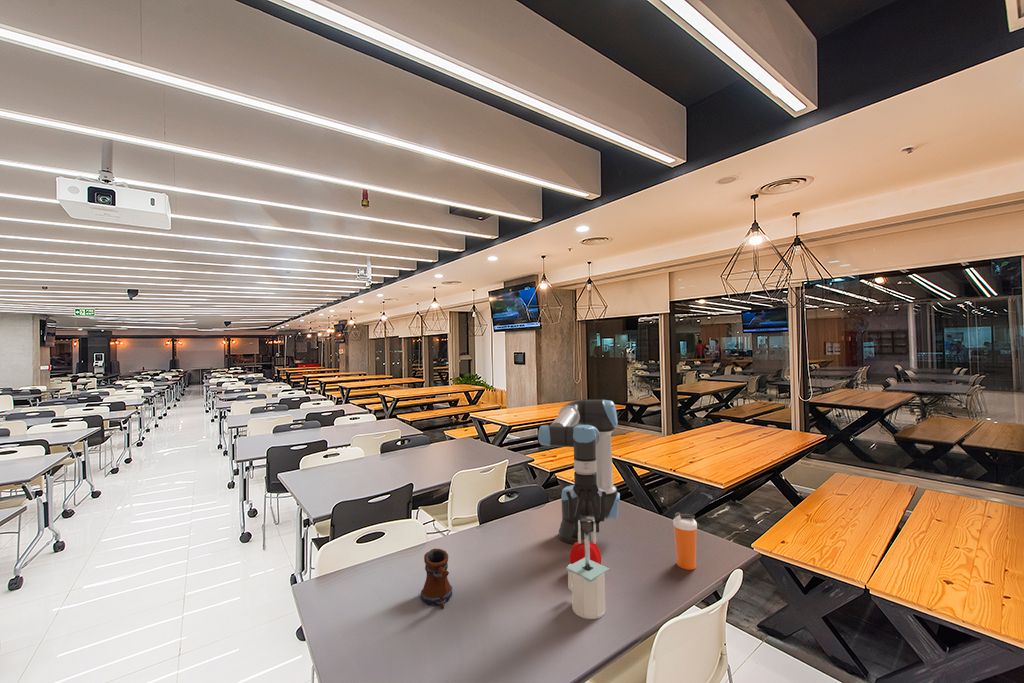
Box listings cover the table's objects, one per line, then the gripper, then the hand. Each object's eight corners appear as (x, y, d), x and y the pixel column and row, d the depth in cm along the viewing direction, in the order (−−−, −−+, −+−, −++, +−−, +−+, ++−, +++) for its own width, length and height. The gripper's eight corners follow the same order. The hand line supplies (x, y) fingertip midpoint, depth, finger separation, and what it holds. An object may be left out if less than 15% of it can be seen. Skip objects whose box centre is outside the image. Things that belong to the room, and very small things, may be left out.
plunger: (571, 576, 136) (570, 520, 137) (586, 568, 141) (584, 514, 142) (589, 585, 130) (588, 527, 131) (604, 576, 135) (602, 521, 136)
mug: (462, 611, 135) (462, 565, 136) (428, 621, 130) (428, 573, 131) (447, 584, 151) (447, 543, 152) (417, 592, 146) (416, 550, 147)
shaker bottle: (701, 572, 156) (699, 519, 157) (676, 570, 158) (675, 518, 159) (695, 560, 165) (693, 511, 166) (672, 558, 167) (670, 510, 168)
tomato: (605, 582, 151) (604, 546, 151) (573, 584, 150) (572, 547, 150) (597, 566, 162) (596, 532, 163) (567, 567, 161) (566, 534, 162)
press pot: (559, 604, 138) (558, 564, 138) (580, 591, 145) (579, 553, 145) (591, 624, 127) (590, 580, 128) (612, 609, 134) (611, 568, 135)
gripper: (560, 474, 134) (561, 546, 133) (613, 475, 132) (615, 547, 132) (559, 468, 141) (560, 536, 140) (609, 468, 140) (611, 537, 139)
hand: (587, 541), depth 136 cm, fingers closed on plunger, 4 cm apart
